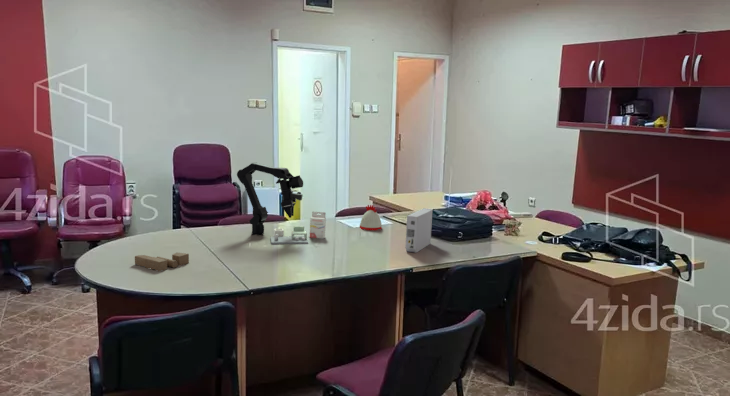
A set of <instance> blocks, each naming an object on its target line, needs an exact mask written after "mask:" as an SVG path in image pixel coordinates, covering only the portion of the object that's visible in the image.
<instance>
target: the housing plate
mask: <svg viewBox="0 0 730 396" xmlns="http://www.w3.org/2000/svg"><path fill="white" fill-rule="evenodd" d="M270 244H271V245H308V244H309V241H308V238H307V239H305V236H304V235H294V239H292V235H290V236H289V235H287V236H285V235H284V236H278V234H275V236H274V235H273V236H270Z"/></svg>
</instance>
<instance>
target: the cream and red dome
mask: <svg viewBox="0 0 730 396" xmlns="http://www.w3.org/2000/svg"><path fill="white" fill-rule="evenodd" d="M365 209H366V212H364V214H363V215H362V217H361V220H360V223H359V228H361V229H360V230H363V229H365V230H364V231H379V230H378V229H381V230H382V227H383V226H382V221H381V217H380V215H379V214H378V212H377V208H376V206H374V205H373V204H370V205H369V204H367V206H365Z"/></svg>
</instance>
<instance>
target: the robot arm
mask: <svg viewBox="0 0 730 396" xmlns="http://www.w3.org/2000/svg"><path fill="white" fill-rule="evenodd" d="M256 171H258V172H261V173H264V174H268V175H272V176H273V177H275V178H277V180H276V182H275V184H277V185H278V184H279V187H280V195H281V196H282V201H281V202H280V207H281V208H282V209H283V211H284V212H285V213H286V215H287V216H288V218H289V219H292V217H294V214H295V213H294V210H295V205H296V203H297V201H302V200H303V196H304V195H303V194H302V193H301V192H300V191H297V193H296V192H294V191H293V190H294V189H299V188H303V187H304V180H303V179H302V177H301V175H295V176H294V175H293V174H292V173H291V172H290V170H289V169H288V168H287V167H274V166H270V165H265V164H262V163H258V162H251V163H250V164H249V165H246V167H243V168H242V169H239V170H238V171H237V172H236V176H237V178H238V181H239V182H240V183H241V184H242V185H243V186H244V189H245V191H246V194H247V196H248V199H249V201H250V204H251V207H252V216H253V217H251V218H250V220H249V224H250V225H251V235H264V233H265V225H264V223H265V222H266V220H267V219H268V215H269V212H268V211H267V208H266V206H263V205H261V202H260V200H259V197H258V195H257V192H256V190H255V187H254V184H253V174H254V173H255V172H256Z"/></svg>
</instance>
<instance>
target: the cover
mask: <svg viewBox="0 0 730 396" xmlns="http://www.w3.org/2000/svg"><path fill="white" fill-rule="evenodd" d="M291 236H292V239H294V236H305V239H307V240H308V233H307V231H306V230H305V226H301V225H300V226H293V230H291Z"/></svg>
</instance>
